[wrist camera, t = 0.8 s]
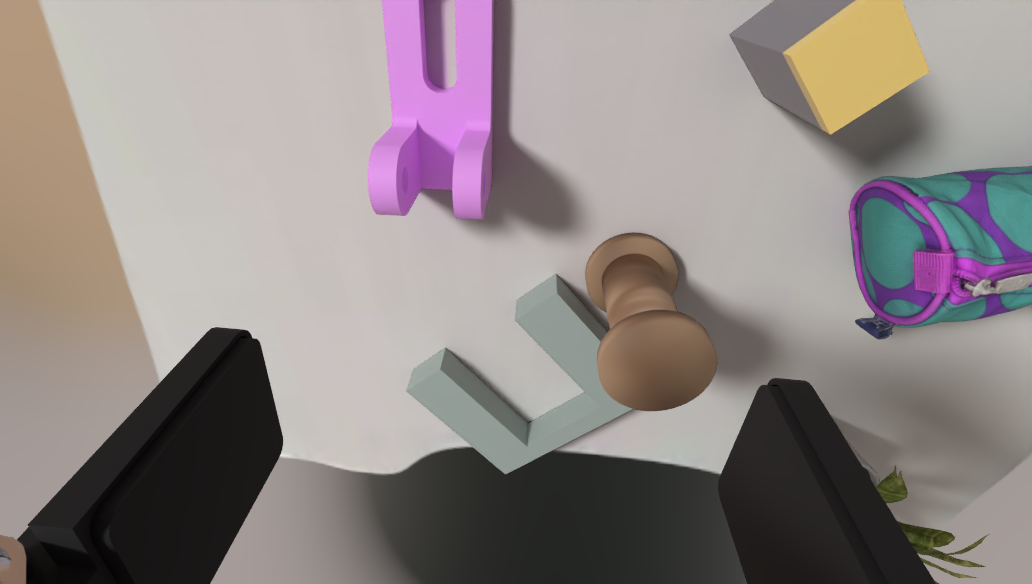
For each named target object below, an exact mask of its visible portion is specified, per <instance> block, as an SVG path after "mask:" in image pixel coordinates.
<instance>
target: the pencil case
mask: <svg viewBox="0 0 1032 584" xmlns="http://www.w3.org/2000/svg"><path fill="white" fill-rule="evenodd" d="M849 219H850V230H851V240H852V249H853V259H854V266H855V271H856V277H857V280H858V284H859V287H860V290H861V292H862V294H863V296H864V298H865V301H866V302H867V304H868V306H869V307H870V308H871V309H872V310H873V311H874V313H875V316H874V317H873V318H860V319H857V320H855V323H856V324H857V325H859V326H860V327H861V328H863V329H864V330H865V331H867V332H868V333H869V334H871V335H872V336H874V337H875V338H877V339H885V338H887V337H888V336H889V335H890V334H891V335H892V333H893V332H892V331H891V330H892V328H893V327H894V326H898V327H920V326H926V325H930V324H934V323H938V322H958V321H969V320H975V319H981V318H985V317H990V316H993V315H997V314H1001V313H1005V312H1010V311H1013V310H1016V309H1019V308H1022V307H1025V306H1028V305H1031V304H1032V166H1028V167H1007V168H989V169H978V170H969V171H960V172H953V173H947V174H940V175H935V176H930V177H923V178H906V177H895V176H886V177H880V178H877V179H874V180H872V181H870V182H868V183H867V184H865V185H864V186H862V187H861V188H860V189H859V190H858V191H857V192H856V194H855V195H854V197H853V198H852V200H851V204H850V210H849ZM890 331H891V332H890Z"/></svg>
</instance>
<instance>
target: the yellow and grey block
mask: <svg viewBox="0 0 1032 584" xmlns="http://www.w3.org/2000/svg"><path fill="white" fill-rule="evenodd" d="M729 35H730V37H731V39H732V41H733V43H734V44H735V46H736V48H737V50H738V52H739V53H740V55H741V57H742V59H743V61H744V62H745V64H746V66H747V68H748V70H749V71H750V73H751V75H752V77H753V79H754V80H755V82H756V84H757V86H758V88H759V89H760V91H761V93H762V95H763V96H764V97H765V98H767V99H769V100H771V101H772V102H774V103H776V104H778V105H779V106H781V107H783V108H785V109H786V110H788V111H790V112H792V113H793V114H795V115H797V116H799V117H800V118H802V119H804V120H806V121H807V122H809V123H811V124H813V125H814V126H816V127H818V128H820V129H821V130H823V131H825V132H827V133H828V134H830V135H831V134H833V133H834V132H836V131H837V130H839V129H840V128H842V127H844V126H845V125H847V124H848V123H850V122H851V121H853V120H855V119H856V118H858V117H859V116H861V115H862V114H864V113H866V112H867V111H869V110H870V109H872V108H873V107H875V106H877V105H878V104H880V103H881V102H883V101H884V100H886V99H888V98H889V97H891V96H892V95H894V94H895V93H897V92H899V91H900V90H902V89H903V88H905V87H906V86H908V85H910V84H911V83H913V82H914V81H916V80H917V79H919V78H921V77H922V76H924V75H925V74H927V73H928V72H930V71H929V68H928V66H927V63H926V61H925V58H924V56H923V53H922V50H921V48H920V45H919V43H918V40H917V38H916V35H915V33H914V30H913V28H912V25H911V23H910V20H909V18H908V15H907V13H906V10H905V7H904V5H903V2H902V0H774V1H773V2H771V3H770V4H769V5H767V6H766V7H765V8H764V9H762V10H761V11H760V12H758V13H757V14H756V15H754V16H753V17H752V18H750V19H749V20H748V21H746V22H745V23H744V24H743V25H741V26H740V27H739V28H737V29H736V30H735V31H733V32H732V33H731V34H729Z"/></svg>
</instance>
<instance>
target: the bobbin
mask: <svg viewBox="0 0 1032 584" xmlns="http://www.w3.org/2000/svg"><path fill="white" fill-rule="evenodd" d="M585 274H586V285H587V290H588V293H589V296H590V297H591V299H592V301H593V302H594V303H595V304H596V305H597V306H598V307H599V308H600V309H601V310H603V311H605V312H606V313H607V316H608V322H609V327H610V330H609V331H608V332H607V333H606V334H605V336H604V337H603V339H602V341H601V343H600V345H599V348H598V351H597V367H598V374H599V379H600V382H601V385H602V387H603V388H604V390H605V391H606V393H607V394H608V395H609V396H610V397H611V398H612V399H614V400H615V401H617V402H618V403H620V404H622V405H624V406H626V407H629V408H632V409H636V410H642V411H661V410H667V409H672V408H675V407H678V406H681V405H683V404H686V403H688V402H689V401H691V400H693V399H694V398H696V397H697V396H699V395H700V394H701V393H702V392H703V391H704V390H705V389H706V388H707V387H708V385H709V384H710V382H711V381H712V379H713V377H714V375H715V372H716V368H717V356H716V351H715V349H714V346H713V344H712V342H711V340H710V338H709V335H708V333H707V332H706V330H705V329H704V328H703V326H702V325H701V324H700V323H699V322H697V321H696V320H695V319H693V318H691V317H690V316H688V315H685V314H683V313H680V312H678V311H677V308H676V306H675V303H674V301H673V298H672V294H673V293H674V291H675V288H676V286H677V282H678V268H677V264H676V262H675V260H674V257H673V255H672V253H671V251H670V250H669V248H668V247H667V246H666V245H665V244H664V243H663V242H662V241H660V240H659V239H657V238H655V237H653V236H651V235H647V234H643V233H625V234H620V235H617V236H614V237H612V238H610V239H608V240H606V241H605V242H603V243H602V244H601V245H600V246H599V247H598V248H596V250H595V251H594V252H593V253H592V255H591V257H590V258H589V261H588V263H587V266H586V273H585Z"/></svg>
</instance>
